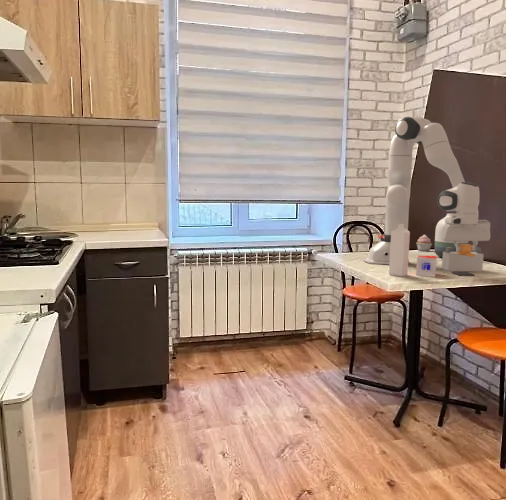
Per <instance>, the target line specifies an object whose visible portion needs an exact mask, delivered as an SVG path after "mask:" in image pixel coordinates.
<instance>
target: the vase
mask: <svg viewBox="0 0 506 500" xmlns="http://www.w3.org/2000/svg"><path fill="white" fill-rule="evenodd" d="M455 215H457V213H446V215H445V217H443V218H441V219H440V220H439V221H438V222H437V224H436V226H435V231H434V232H435V233H434V235H435V236H434V252H435V256H437V257H440V258H443V252H445V247H452V248H454V250H450V252H456V246H455V244H454V241H445V240H443V239H442V232H443V227H444V225H445V224H447V223H445V219H446V218H449V217H453V216H455ZM460 244H469V241H459V243H458V245H459V247H460Z"/></svg>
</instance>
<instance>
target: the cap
mask: <svg viewBox="0 0 506 500" xmlns="http://www.w3.org/2000/svg"><path fill="white" fill-rule="evenodd" d="M472 245H473V244H471V243H468V244H460V247H461V251H456V253H459V255H466V256H470V257H475V254H473V253H471V252H472V251H471V248H472Z"/></svg>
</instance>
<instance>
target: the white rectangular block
mask: <svg viewBox="0 0 506 500" xmlns="http://www.w3.org/2000/svg"><path fill="white" fill-rule="evenodd" d="M450 250H454V248H452V247H445V252H443V257H441V258H442V260H441V269H442V270H445V271H447V272H483V269H484V268H483V266H484V265H483V264H484V253H482V247H475V251H471V253H473V254H475V257H470V256H466V255H459V253H456V252H450Z"/></svg>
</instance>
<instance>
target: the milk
mask: <svg viewBox="0 0 506 500" xmlns="http://www.w3.org/2000/svg"><path fill="white" fill-rule="evenodd" d="M410 235H411V232H410V231H409V230H407V229H405V228H404V224H399V225H398V228H397V229H395V230H393V231H391V245H390V263H389V264H388V266H389V267H388V275H389V276H396V277H404V276H407V275H408V270H409V269H408V268H409V263H408V259H409V257H410V255H409V253H410V237H411V236H410Z"/></svg>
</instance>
